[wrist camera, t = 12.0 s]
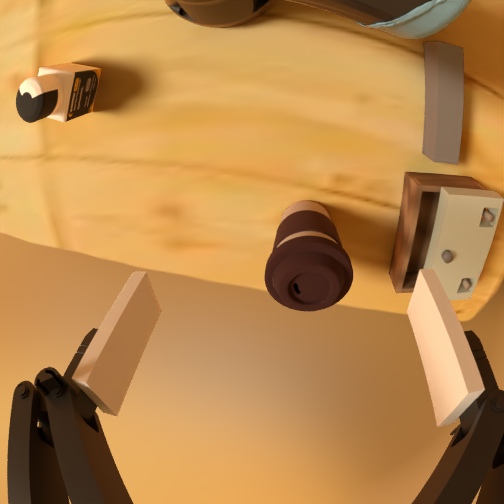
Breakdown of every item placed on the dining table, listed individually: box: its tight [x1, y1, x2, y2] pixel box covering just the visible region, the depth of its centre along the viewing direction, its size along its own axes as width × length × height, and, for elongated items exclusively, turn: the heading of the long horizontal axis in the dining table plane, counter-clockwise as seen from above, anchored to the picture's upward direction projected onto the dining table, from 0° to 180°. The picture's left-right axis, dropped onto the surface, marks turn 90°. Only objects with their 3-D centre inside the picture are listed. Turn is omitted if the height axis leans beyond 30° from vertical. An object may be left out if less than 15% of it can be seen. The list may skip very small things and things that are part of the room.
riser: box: [422, 41, 464, 164], centre depth 28 cm, size 16×4×4 cm, turn 6°
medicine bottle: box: [16, 63, 102, 123], centre depth 29 cm, size 7×7×12 cm
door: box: [423, 187, 504, 300], centre depth 35 cm, size 18×10×4 cm, turn 6°
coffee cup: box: [265, 201, 353, 311], centre depth 37 cm, size 10×10×15 cm
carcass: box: [389, 172, 493, 293], centre depth 38 cm, size 18×12×8 cm
